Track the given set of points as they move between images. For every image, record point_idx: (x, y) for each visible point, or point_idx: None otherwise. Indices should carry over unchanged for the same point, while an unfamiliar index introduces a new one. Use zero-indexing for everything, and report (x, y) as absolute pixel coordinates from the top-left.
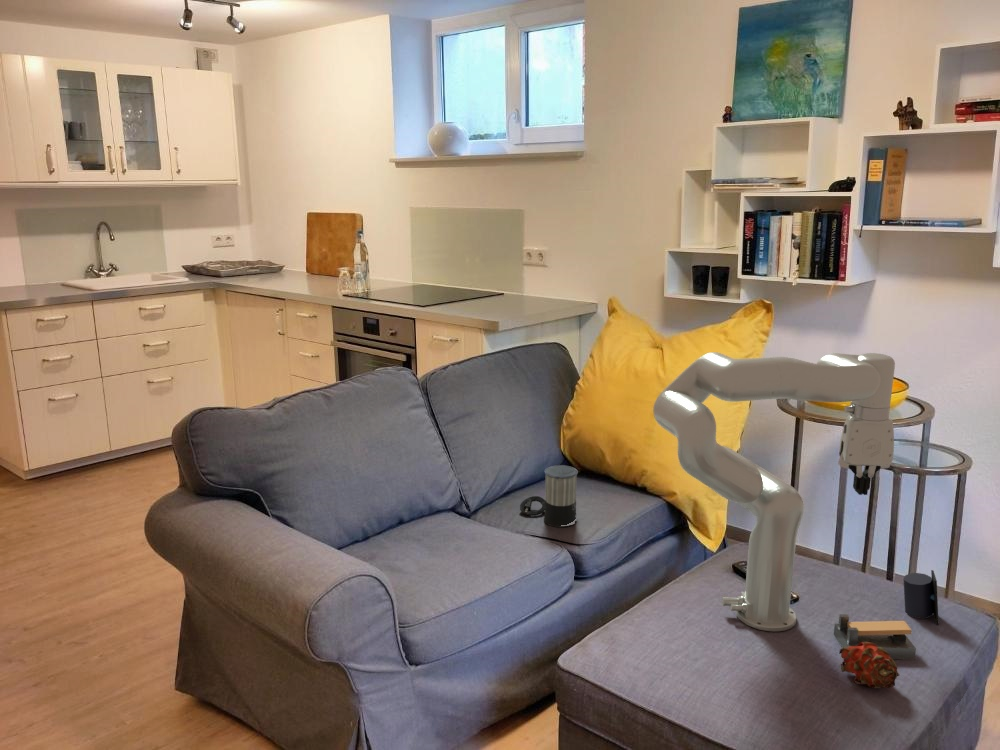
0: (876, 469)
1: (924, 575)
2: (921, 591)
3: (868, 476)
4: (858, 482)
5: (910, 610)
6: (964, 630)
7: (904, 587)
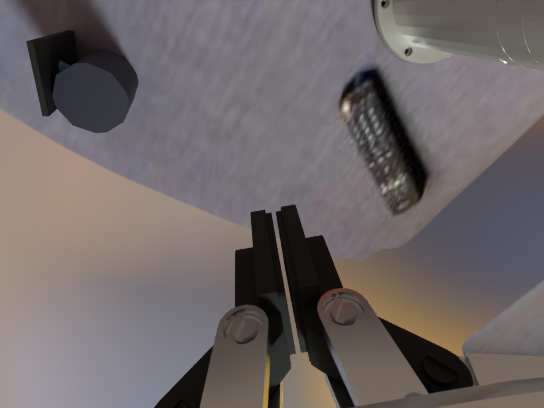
0: (189, 396)
1: (73, 117)
2: (86, 59)
3: (262, 310)
4: (319, 268)
5: (125, 63)
6: (10, 15)
7: (130, 91)
